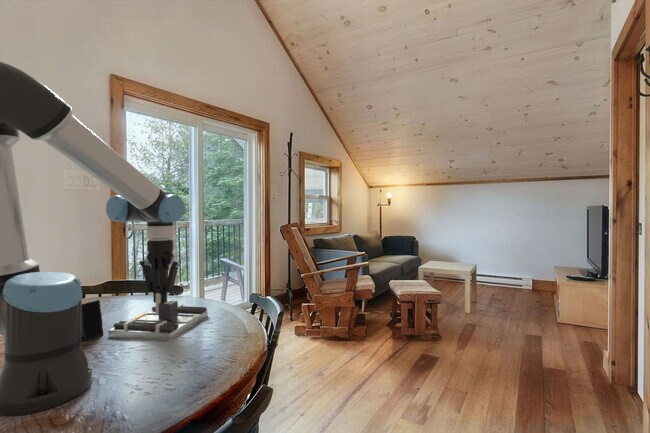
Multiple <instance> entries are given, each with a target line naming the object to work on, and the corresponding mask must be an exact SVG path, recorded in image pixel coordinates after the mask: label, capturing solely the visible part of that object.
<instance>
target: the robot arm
mask: <svg viewBox="0 0 650 433" xmlns="http://www.w3.org/2000/svg"><path fill="white" fill-rule="evenodd" d="M20 133H23V134H25V136H27V137H28V138H30V139H31V140H33V141H34V140H35V141H42V142H45V143H47V144H48V145H49V146H51V147H52V148H53V149H54V150H56V151H58V152H59V153H60V154H62V155H63V156H64V157H66V158H67V159H68V160H70V161H71V162H72V163H74V164H75V165H77V166H79V167H80V168H81V169H83V170H84V171H85V172H86V173H88V174H90V176H92V177H93V178H95V179H96V180H98V181H99V182H101V183H102V184H104V186H106V187H108V188H109V189H110V190H112V191H113V192H115V193H116V194H117V195H116V194H115V195H112V196H110V197H109V198H108V199H107V201H106V204H105V213H106V215H107V217H108V219H109V220H110V221H112V222H120V223H126V222H129V223H130V222H132V223H133V222H136V223H137V222H139V223H141V222H142V223H143V222H146V226H147V227H146V238H147V239H148V240H147V241H146V251H147V252H148V253H147V256H146V258H145V259H144V260H140V261H139V265H140V266H141V269H142V272H143V276H144V281H145V285H146V289H147V291H148V292H149V291H150V292H152V293H153V294H152V295H153V296H152V297H153V303H154V304H155V306H156V314H159V304H160V303H164V302H166V301H168V292H169V291H172V290H173V289H174V287H175V282H176V278H177V274H178V270H179V267H180V265H181V264H182V261H181V260H177V259H176V258H175V256H174V253H173V252H174V240H173V238H174V223H176V222H178V221H180V220H181V219H182V218H183V217H184V214H185V213H186V205H185V204H186V203H185V202H184V199H183V198H181V196H179V195H176V194H173V192H171V191H166V190H162V189H161V188H160V187H158V186H157V185H156V184H155V183H154V182H152V181H151V180H150V179H149V178H148V177H147V176H145V175H144V174H142V172H141V171H140V170H138V168H136V167H135V166H134V165H133V164H131V163H130V162H129V161H127V159H125V158H124V157H123V156H122V155H120V154H119V153H118V152H117V151H116V150H115V149H113V148H112V147H111V146H110V145H109V144H107V143H106V142H105V141H104V140H102V139H101V138H100V137H99V136H98V135H97V134H96V133H94V132H93V131H92V130H91V129H90V128H88V127H87V125H85V124H84V123H82V122H81V121H80V120H79V118H77V117H76V116H74V115H73V108H72V107H71V106H70V105H69V104H68V103H67V102H66V101H65V100H63V99H62V98H61V97H60V96H59V95H58V94H56V93H55V92H54V91H53V90H51V89H50V88H48V87H47V86H46V85H44V84H43V83H42V82H40V81H39V80H37V79H36V78H35V77H33V76H31V75H30V74H28V73H26V72H24V71H23V70H21V69H20V68H17V67H15V66H13V65H11V64H8V63H5V62H2V61H0V335H3V336H4V337H3V338H4V340H3V342H4V343H3V344H4V345H3V346H4V363H3V367H2V370H1V371H0V415H1V416H19V415H21V416H22V415H27V414H33V413H36V412H40V411H44V410H47V409H50V408H54V407H57V406H59V405H62V404H64V403H67V402H68V401H71V400H72V399H75V398H76V397H78V396H80V395H81V394H83V393H85V391H87V390H88V389H89V387H90V386H91V385H92V383H93V371H92V367H91V366H90V365H89V362H88V359H87V356H86V355H85V352H84V350H83V347H82V337H81V304H82V298H83V290H82V285H81V280H80V279H79V278H78V277H77V276H76V275H75V274H72V273H68V272H63V271H62V272H61V271H56V272H53V271H40V264H39V262H38V261H36V260H34V259H33V258H31V257H30V256H29V253H28V246H27V240H26V238H27V237H26V234H25V227H24V219H23V213H22V208H21V207H22V206H21V200H20V193H19V188H18V182H17V181H18V179H17V175H16V167H15V160H14V156H13V146H14V145H16V144H17V143H18V142H19V141H21V137H20Z"/></svg>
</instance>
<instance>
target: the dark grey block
mask: <svg viewBox="0 0 650 433" xmlns="http://www.w3.org/2000/svg"><path fill="white" fill-rule="evenodd" d="M178 305H179V301H178V300H173V299H169V300H167V301H166V302H164V303H160V304H159V320H172V319H174V318H176V317H177V316H178Z"/></svg>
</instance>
